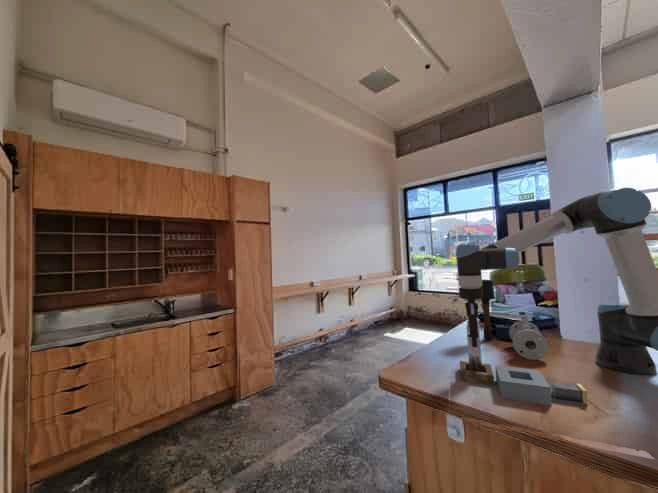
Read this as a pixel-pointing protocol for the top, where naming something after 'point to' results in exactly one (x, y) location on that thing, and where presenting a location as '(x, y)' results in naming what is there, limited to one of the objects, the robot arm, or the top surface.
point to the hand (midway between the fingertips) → (474, 353)
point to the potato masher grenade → (487, 306)
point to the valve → (528, 339)
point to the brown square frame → (476, 374)
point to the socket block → (525, 385)
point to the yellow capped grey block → (569, 392)
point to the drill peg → (474, 361)
